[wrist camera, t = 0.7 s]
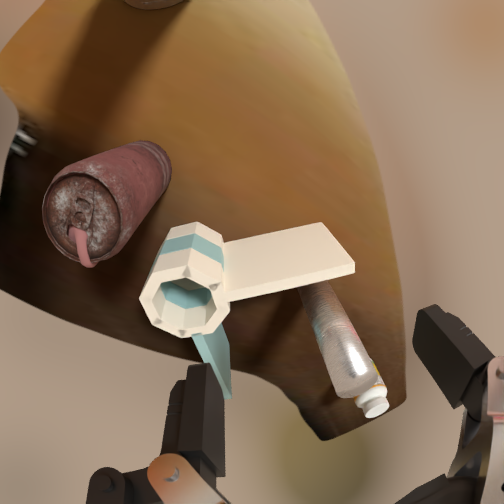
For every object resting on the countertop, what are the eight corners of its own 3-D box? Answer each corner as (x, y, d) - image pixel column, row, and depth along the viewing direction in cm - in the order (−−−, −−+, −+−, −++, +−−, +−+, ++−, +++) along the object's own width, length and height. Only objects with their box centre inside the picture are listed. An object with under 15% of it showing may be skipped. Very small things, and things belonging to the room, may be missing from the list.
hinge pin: (291, 267, 32) (336, 379, 18) (321, 260, 32) (380, 364, 18) (295, 291, 34) (335, 402, 19) (322, 284, 34) (375, 389, 19)
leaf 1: (153, 232, 28) (129, 277, 20) (216, 217, 28) (214, 259, 20) (200, 349, 37) (198, 402, 29) (250, 340, 37) (258, 394, 29)
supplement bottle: (363, 352, 41) (385, 397, 32) (377, 362, 43) (398, 404, 34) (337, 371, 42) (355, 417, 34) (353, 380, 44) (370, 422, 36)
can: (123, 206, 27) (58, 278, 14) (110, 148, 24) (26, 182, 12) (178, 196, 27) (141, 266, 15) (167, 134, 24) (112, 152, 12)
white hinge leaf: (153, 232, 28) (129, 277, 20) (318, 195, 28) (353, 228, 20) (173, 286, 32) (161, 341, 24) (324, 254, 32) (354, 300, 24)
